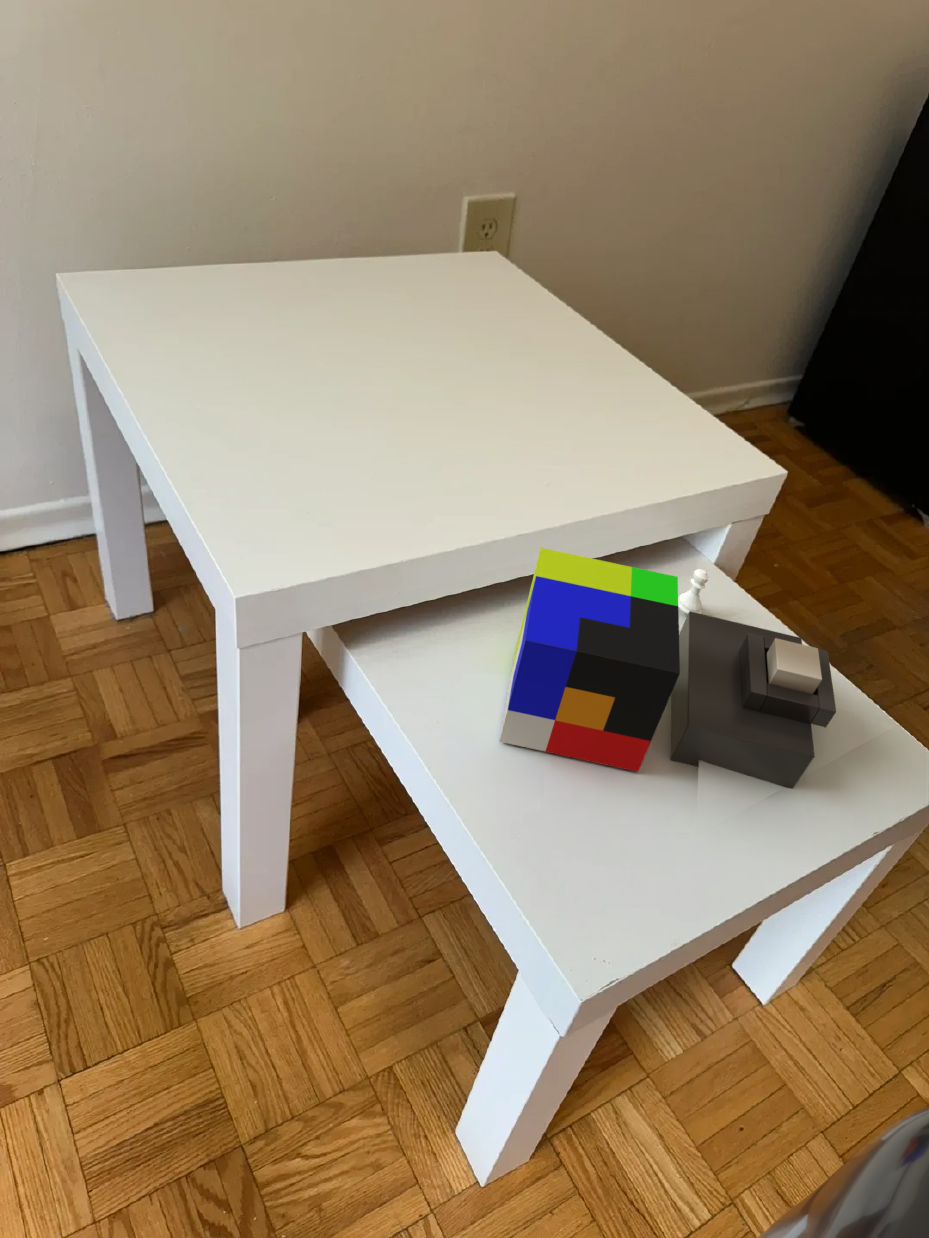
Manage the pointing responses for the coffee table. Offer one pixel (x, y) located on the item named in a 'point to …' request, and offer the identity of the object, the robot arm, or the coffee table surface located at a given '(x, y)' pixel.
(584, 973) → the coffee table surface
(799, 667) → the beige push button
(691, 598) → the chess pawn
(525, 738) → the puzzle toy
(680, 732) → the dark grey block
